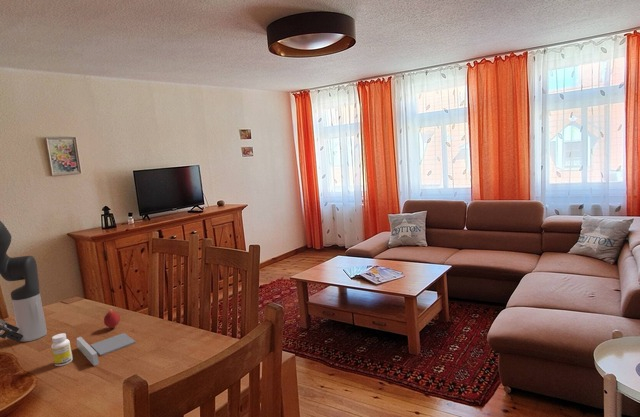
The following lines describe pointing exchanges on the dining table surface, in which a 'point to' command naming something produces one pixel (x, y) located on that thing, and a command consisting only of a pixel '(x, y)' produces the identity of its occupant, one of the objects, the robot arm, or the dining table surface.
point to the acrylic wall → (87, 351)
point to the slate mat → (112, 344)
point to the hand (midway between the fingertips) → (19, 334)
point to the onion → (111, 319)
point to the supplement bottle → (61, 350)
